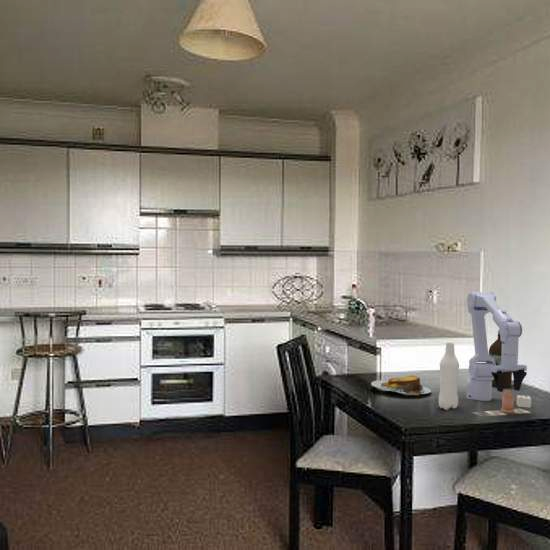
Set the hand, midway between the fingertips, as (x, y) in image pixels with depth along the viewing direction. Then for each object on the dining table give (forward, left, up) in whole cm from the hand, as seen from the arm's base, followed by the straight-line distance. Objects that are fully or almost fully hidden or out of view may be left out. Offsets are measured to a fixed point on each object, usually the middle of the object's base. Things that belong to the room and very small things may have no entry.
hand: (508, 390), depth 225 cm
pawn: (0, 0, -8) cm, 8 cm away
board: (-2, -2, -9) cm, 9 cm away
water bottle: (-21, -3, -9) cm, 23 cm away
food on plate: (-45, +15, -10) cm, 48 cm away
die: (+4, +14, -9) cm, 17 cm away
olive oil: (-10, +51, -9) cm, 52 cm away
